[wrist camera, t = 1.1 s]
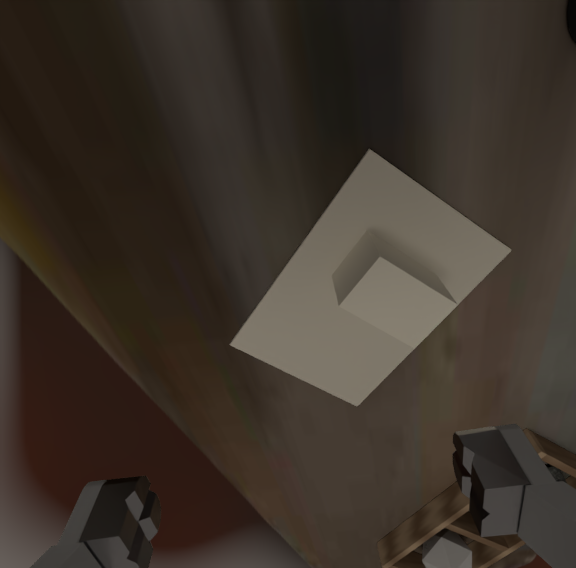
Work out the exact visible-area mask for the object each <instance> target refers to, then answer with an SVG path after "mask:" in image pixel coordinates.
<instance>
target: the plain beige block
mask: <svg viewBox="0 0 576 568" xmlns="http://www.w3.org/2000/svg"><path fill="white" fill-rule="evenodd" d="M332 279H333V284H334V288H335V292H336V296H337V301H338V305H339V307H341V308H343V309H345V310H346V311H348V312H350V313H352V314H353V315H355V316H357V317H359V318H361V319H362V320H364V321H366V322H368V323H370V324H371V325H373V326H375V327H377V328H378V329H380V330H382V331H384V332H386V333H387V334H389V335H391V336H393V337H395V338H396V339H398V340H400V341H402V342H403V343H405V344H407V345H409V346H411V347H412V348H414V349H415V348H416V347H417V346H418V345H419V344H420V343H421V342H422V341H423V340H424V339H425V338H426V337H427V336H428V335H429V334H430V333H431V332H432V331H433V330H434V329H435V328H436V327H437V326H438V325H439V324H440V323H441V322H442V321H443V320H444V319H445V318H446V317H447V316H448V314H449V313H450V312H451V311H452V310H453V309H454V308H455V307H456V306H457V305H458V304H457V303H456V301H455V300H454V299H453V297H452V296H451V294H450V293H449V291H448V290H447V289H446V287H445V286H444V284H443V283H442V282H441V280H440V279H439V277H438V276H437V275H436V274H435V273H433V272H432V271H430V270H429V269H427V268H426V267H424V266H422V265H421V264H419V263H418V262H416V261H415V260H413V259H411V258H410V257H408V256H407V255H405V254H404V253H402V252H400V251H399V250H397V249H396V248H394V247H393V246H391V245H390V244H388V243H386V242H385V241H383V240H382V239H380V238H379V237H377V236H375V235H374V234H372V233H371V232H369V231H368V230H367V231H366V232H365V234H364V235H363V236H362V237H361V239H360V240H359V241H358V243H357V244H356V245H355V246H354V248H353V249H352V250H351V251H350V253H349V254H348V255H347V257H346V258H345V259H344V260H343V262H342V263H341V264H340V266H339V267H338V268H337V269H336V271H335V272H334V273H333V274H332Z"/></svg>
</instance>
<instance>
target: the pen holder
mask: <svg viewBox="0 0 576 568" xmlns="http://www.w3.org/2000/svg"><path fill="white" fill-rule="evenodd" d="M568 25H569V30H570V33H571V35H572V37H573V39H574V41H575V42H576V0H569V5H568Z"/></svg>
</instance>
